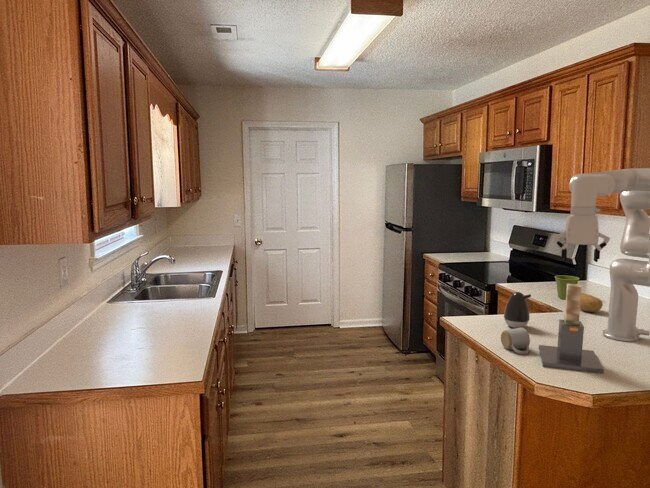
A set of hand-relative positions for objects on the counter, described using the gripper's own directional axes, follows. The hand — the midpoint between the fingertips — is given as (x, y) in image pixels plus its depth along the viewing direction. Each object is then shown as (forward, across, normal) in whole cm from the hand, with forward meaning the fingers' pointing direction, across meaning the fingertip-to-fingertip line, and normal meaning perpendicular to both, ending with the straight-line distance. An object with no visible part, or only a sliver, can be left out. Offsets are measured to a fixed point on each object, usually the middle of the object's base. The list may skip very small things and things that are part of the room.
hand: (579, 260), depth 168 cm
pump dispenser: (+35, +18, -29) cm, 49 cm away
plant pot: (+37, -8, -90) cm, 98 cm away
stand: (+34, +3, +6) cm, 35 cm away
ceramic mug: (+35, +19, 0) cm, 40 cm away
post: (+26, +2, +6) cm, 27 cm away
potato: (+37, -15, -66) cm, 77 cm away
